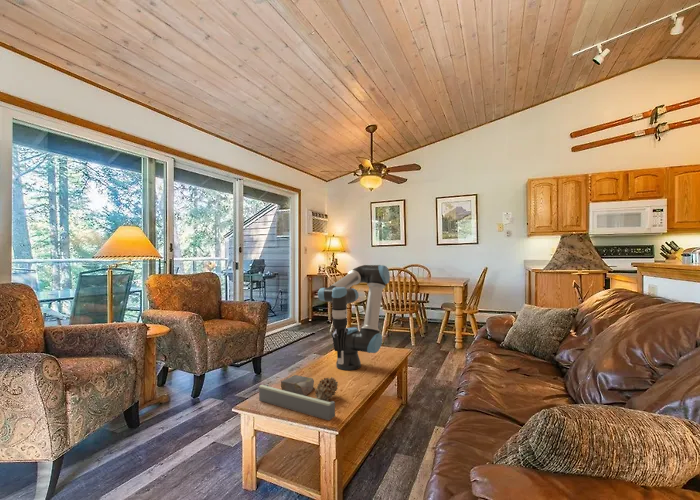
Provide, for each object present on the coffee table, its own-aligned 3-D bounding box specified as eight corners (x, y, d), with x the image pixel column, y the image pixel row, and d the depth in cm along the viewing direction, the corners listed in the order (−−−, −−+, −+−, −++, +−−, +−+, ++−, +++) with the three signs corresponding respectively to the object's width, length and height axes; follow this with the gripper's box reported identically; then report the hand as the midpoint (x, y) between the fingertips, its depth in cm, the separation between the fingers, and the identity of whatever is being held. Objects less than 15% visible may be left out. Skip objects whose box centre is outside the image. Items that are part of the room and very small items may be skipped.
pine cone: (324, 392, 164) (324, 372, 164) (341, 395, 160) (341, 375, 160) (300, 411, 144) (299, 388, 144) (318, 415, 140) (318, 392, 140)
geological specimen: (292, 374, 176) (316, 377, 170) (292, 386, 176) (316, 389, 169) (280, 380, 167) (304, 384, 160) (280, 392, 166) (305, 396, 160)
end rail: (266, 396, 159) (266, 382, 159) (334, 415, 140) (334, 399, 140) (259, 400, 155) (258, 386, 155) (328, 420, 136) (328, 404, 136)
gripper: (339, 320, 160) (340, 368, 160) (352, 315, 172) (353, 360, 172) (326, 319, 164) (327, 366, 164) (340, 314, 175) (340, 358, 175)
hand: (340, 363), depth 168 cm, fingers closed
